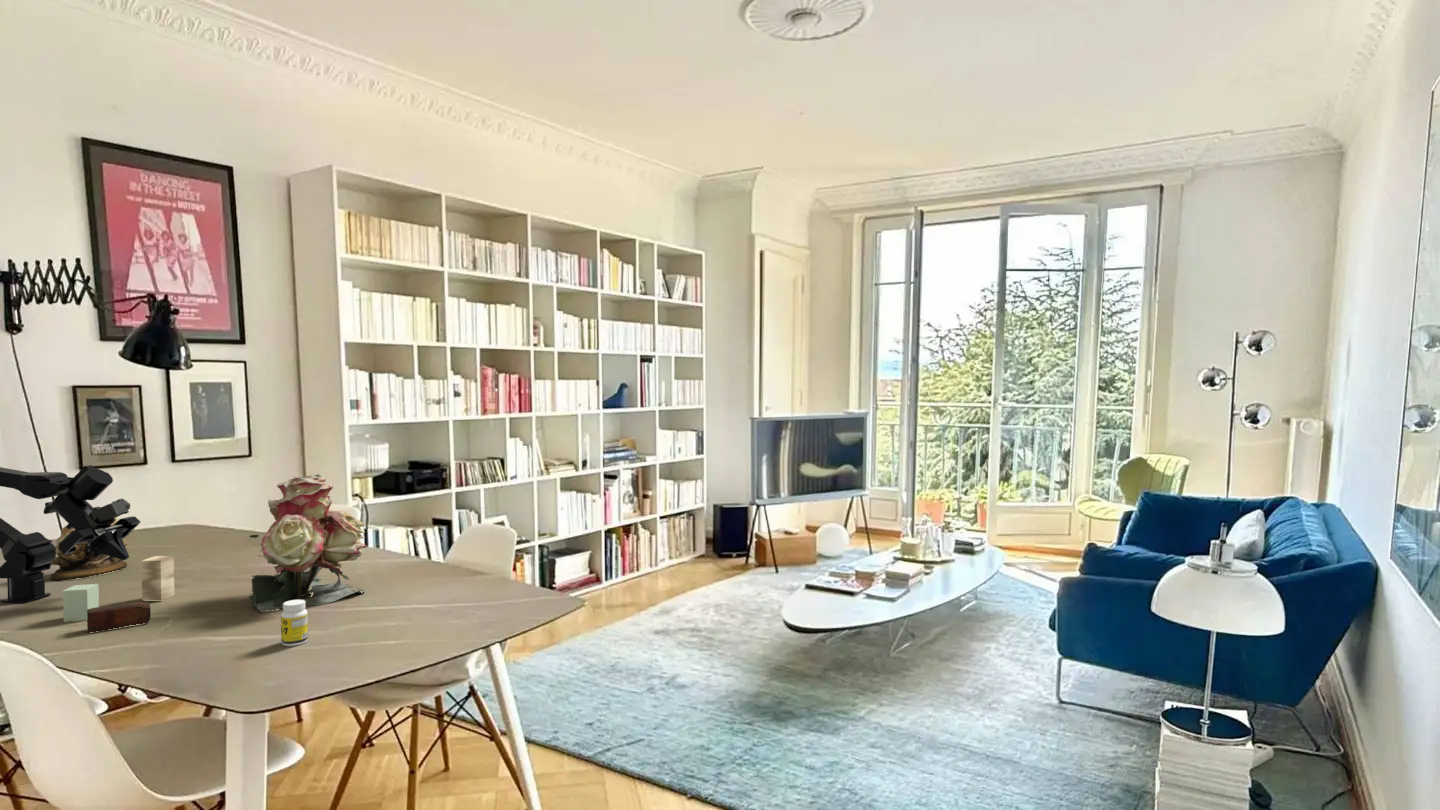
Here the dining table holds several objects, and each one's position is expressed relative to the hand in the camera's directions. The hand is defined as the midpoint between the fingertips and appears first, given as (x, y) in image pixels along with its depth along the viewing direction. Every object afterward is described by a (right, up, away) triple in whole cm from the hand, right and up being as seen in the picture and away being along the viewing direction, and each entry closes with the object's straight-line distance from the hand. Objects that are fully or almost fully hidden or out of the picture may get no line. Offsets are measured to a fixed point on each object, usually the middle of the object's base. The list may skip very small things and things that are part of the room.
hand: (126, 558), depth 180 cm
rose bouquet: (+42, -10, +6) cm, 43 cm away
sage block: (+1, -10, -14) cm, 17 cm away
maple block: (+7, -10, +1) cm, 12 cm away
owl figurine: (-29, -9, +24) cm, 39 cm away
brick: (+14, -11, -19) cm, 26 cm away
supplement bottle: (+57, -12, -28) cm, 64 cm away
